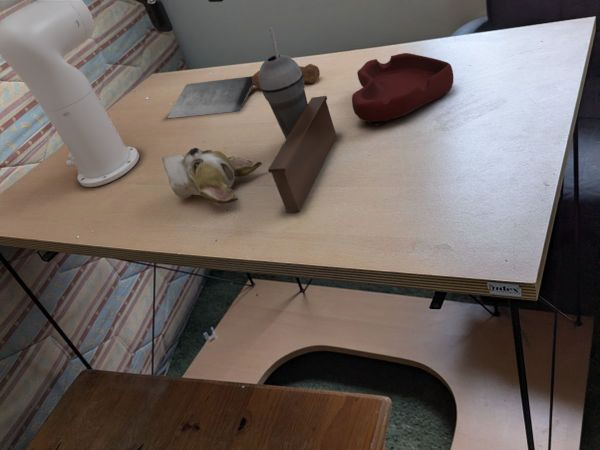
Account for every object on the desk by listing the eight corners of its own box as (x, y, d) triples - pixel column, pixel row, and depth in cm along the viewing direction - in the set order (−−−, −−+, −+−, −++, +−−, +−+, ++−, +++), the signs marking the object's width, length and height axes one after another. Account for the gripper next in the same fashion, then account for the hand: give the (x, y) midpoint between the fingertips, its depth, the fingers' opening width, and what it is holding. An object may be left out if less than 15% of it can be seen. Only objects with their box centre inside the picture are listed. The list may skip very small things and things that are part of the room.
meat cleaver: (166, 118, 122) (158, 102, 120) (191, 93, 130) (184, 77, 127) (304, 105, 107) (298, 86, 105) (323, 77, 115) (318, 59, 112)
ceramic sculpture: (174, 130, 92) (253, 129, 86) (193, 173, 97) (268, 174, 91) (139, 168, 85) (222, 170, 79) (162, 212, 90) (240, 216, 84)
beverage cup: (289, 133, 99) (251, 24, 87) (327, 129, 96) (293, 15, 84) (276, 156, 94) (233, 43, 82) (316, 152, 91) (277, 35, 79)
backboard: (285, 212, 80) (267, 169, 75) (324, 137, 94) (311, 97, 89) (301, 212, 79) (284, 168, 74) (338, 136, 93) (326, 95, 88)
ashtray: (457, 116, 86) (453, 87, 83) (355, 134, 91) (348, 107, 88) (453, 67, 100) (449, 41, 97) (364, 85, 105) (358, 61, 102)
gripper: (172, -138, 74) (220, -9, 84) (62, -95, 66) (129, 42, 76) (205, -149, 69) (252, -11, 79) (91, -104, 61) (158, 44, 71)
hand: (192, 15), depth 78 cm, fingers open, 9 cm apart
